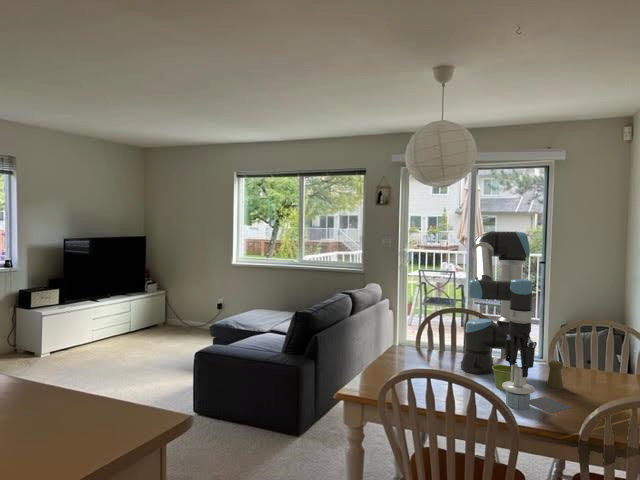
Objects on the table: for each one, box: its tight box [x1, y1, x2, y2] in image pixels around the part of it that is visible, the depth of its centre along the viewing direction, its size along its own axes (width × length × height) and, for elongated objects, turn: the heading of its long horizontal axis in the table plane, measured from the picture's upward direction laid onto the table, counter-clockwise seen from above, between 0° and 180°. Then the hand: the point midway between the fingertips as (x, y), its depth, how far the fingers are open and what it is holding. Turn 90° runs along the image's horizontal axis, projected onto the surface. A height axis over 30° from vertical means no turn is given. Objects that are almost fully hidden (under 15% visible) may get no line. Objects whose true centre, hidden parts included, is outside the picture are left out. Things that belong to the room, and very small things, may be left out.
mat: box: [530, 396, 573, 414], centre depth 178 cm, size 12×12×1 cm
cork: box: [546, 359, 564, 390], centre depth 199 cm, size 6×6×11 cm
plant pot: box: [492, 364, 511, 391], centre depth 196 cm, size 9×9×9 cm
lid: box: [502, 366, 535, 395], centre depth 177 cm, size 11×11×8 cm
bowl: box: [505, 390, 531, 411], centre depth 177 cm, size 8×8×6 cm
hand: (518, 383), depth 177 cm, fingers open, 3 cm apart
